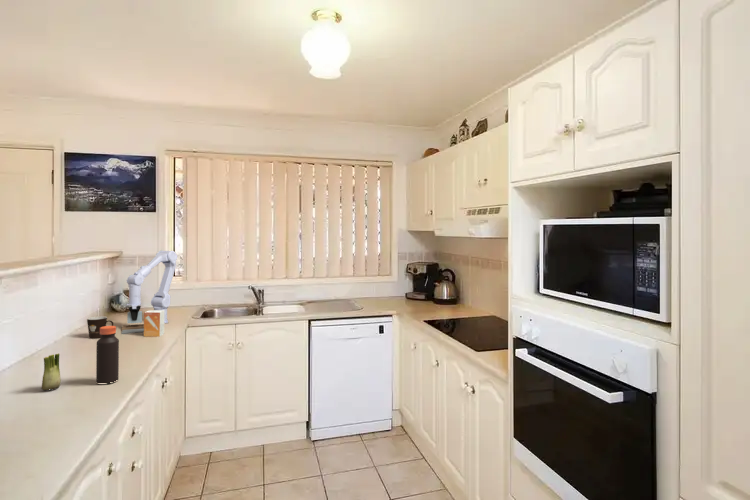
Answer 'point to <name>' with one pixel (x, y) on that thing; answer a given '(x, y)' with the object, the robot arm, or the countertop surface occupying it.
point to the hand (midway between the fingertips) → (134, 319)
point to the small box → (153, 323)
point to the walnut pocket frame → (133, 326)
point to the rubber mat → (132, 331)
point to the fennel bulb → (51, 373)
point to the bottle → (107, 356)
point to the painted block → (129, 320)
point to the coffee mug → (96, 326)
